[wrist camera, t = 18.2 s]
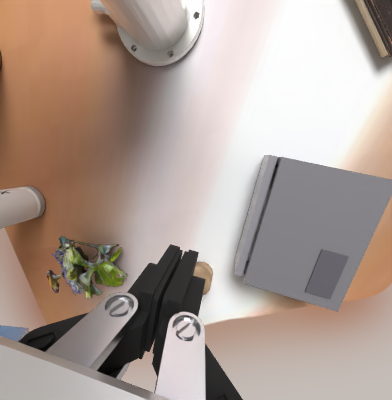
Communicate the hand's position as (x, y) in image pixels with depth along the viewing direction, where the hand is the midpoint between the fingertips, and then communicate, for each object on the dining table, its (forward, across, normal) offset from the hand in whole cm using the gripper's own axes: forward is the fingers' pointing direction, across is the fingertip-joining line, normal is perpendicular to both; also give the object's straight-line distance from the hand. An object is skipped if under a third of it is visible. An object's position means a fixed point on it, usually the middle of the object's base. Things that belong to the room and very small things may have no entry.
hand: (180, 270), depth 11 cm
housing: (+21, -13, +1) cm, 25 cm away
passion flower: (+22, +18, +16) cm, 32 cm away
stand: (+21, -1, +14) cm, 25 cm away
